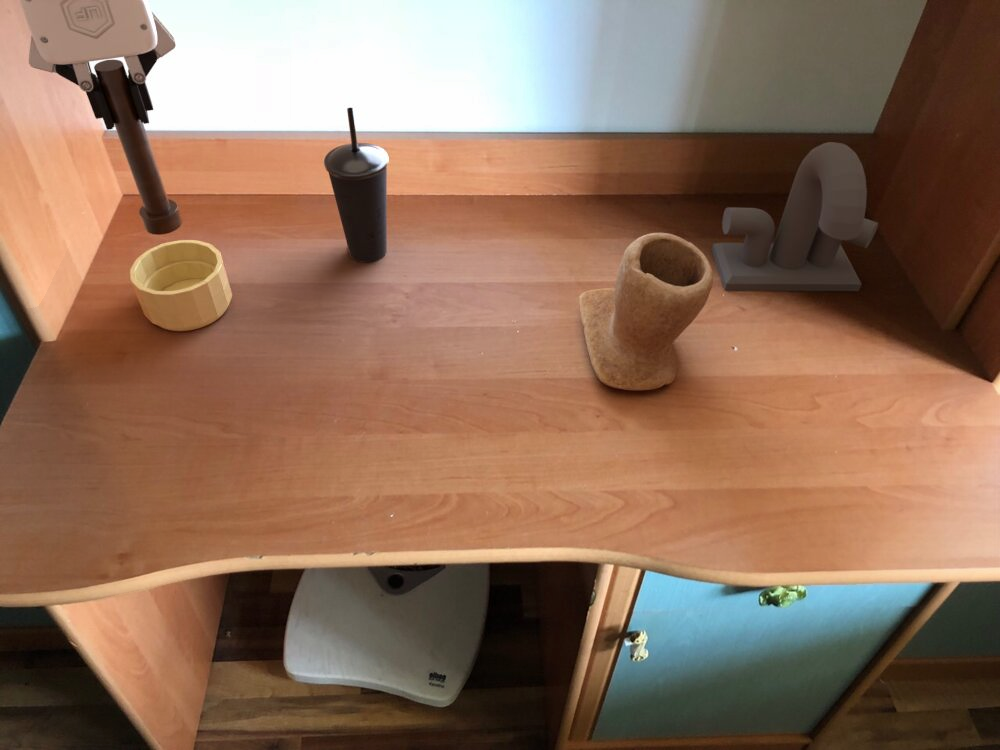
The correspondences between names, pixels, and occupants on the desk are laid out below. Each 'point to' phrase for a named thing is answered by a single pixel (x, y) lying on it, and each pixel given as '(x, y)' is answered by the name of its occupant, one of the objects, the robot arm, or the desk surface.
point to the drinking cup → (360, 194)
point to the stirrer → (137, 150)
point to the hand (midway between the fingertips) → (127, 118)
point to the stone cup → (645, 311)
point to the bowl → (181, 284)
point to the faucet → (802, 230)
